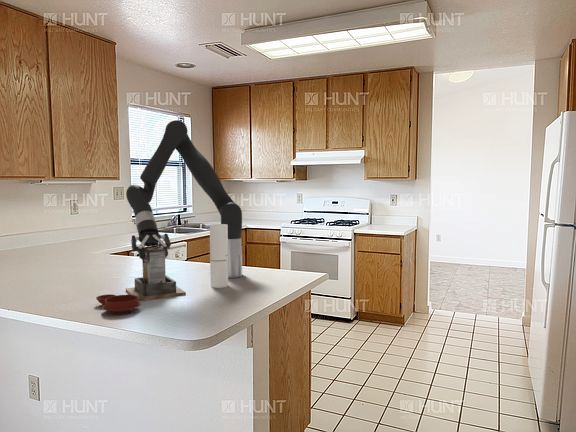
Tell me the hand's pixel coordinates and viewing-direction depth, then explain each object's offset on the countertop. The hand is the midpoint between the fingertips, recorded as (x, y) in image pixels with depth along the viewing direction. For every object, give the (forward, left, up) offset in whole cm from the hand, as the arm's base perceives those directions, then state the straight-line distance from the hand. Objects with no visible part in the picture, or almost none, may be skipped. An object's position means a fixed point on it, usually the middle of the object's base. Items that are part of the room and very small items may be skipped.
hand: (154, 257), depth 163 cm
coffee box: (+1, 0, -13) cm, 13 cm away
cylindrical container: (-23, -11, -14) cm, 29 cm away
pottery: (+7, +21, -14) cm, 26 cm away
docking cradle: (0, 0, -14) cm, 14 cm away
